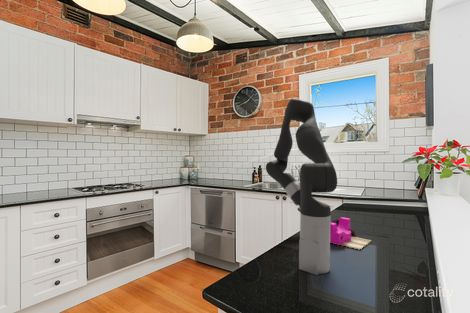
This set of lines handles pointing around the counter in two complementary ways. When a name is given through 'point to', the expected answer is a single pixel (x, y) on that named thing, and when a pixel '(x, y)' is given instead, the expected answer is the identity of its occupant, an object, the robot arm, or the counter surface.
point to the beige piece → (356, 243)
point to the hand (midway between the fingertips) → (320, 223)
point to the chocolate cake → (338, 223)
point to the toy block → (340, 231)
